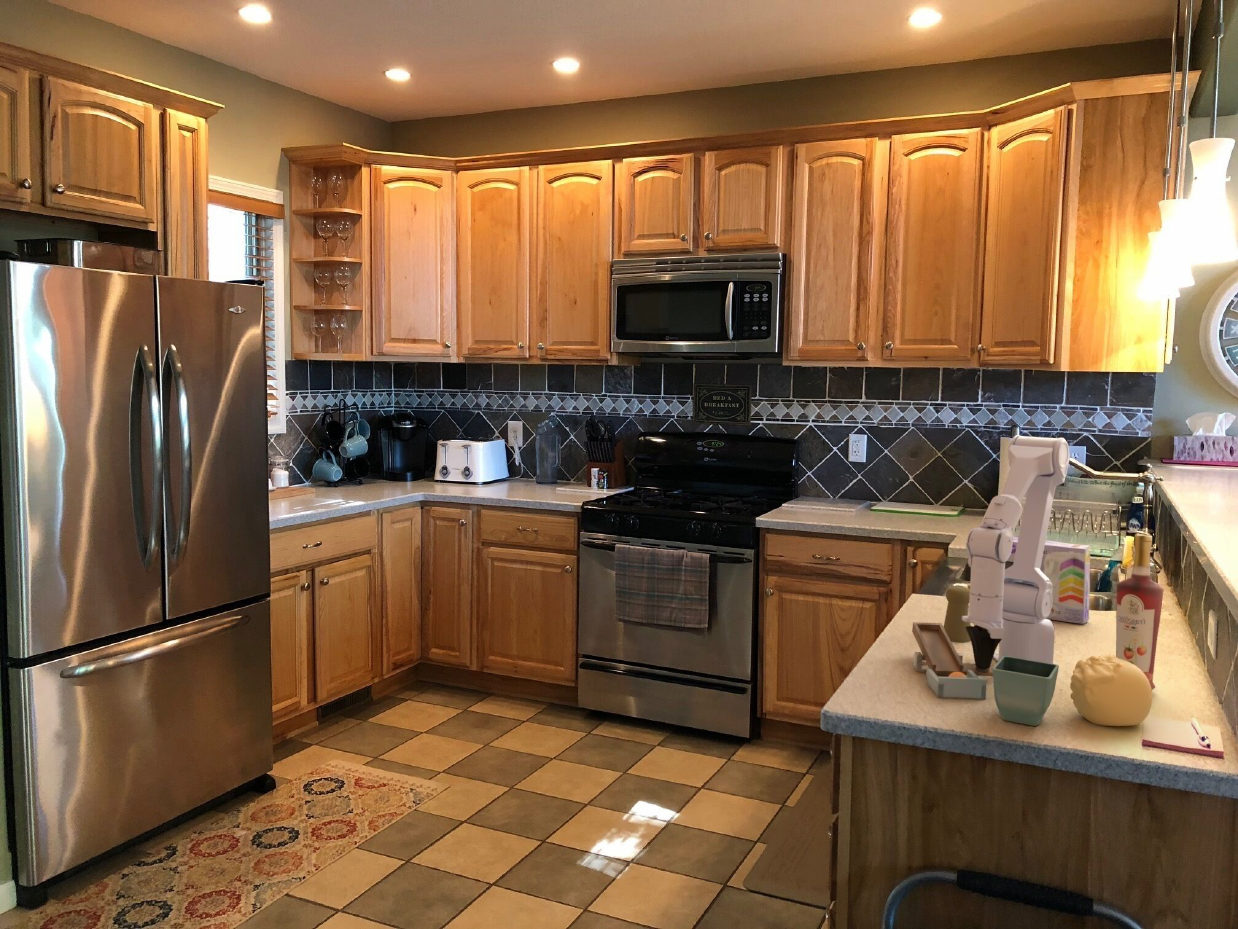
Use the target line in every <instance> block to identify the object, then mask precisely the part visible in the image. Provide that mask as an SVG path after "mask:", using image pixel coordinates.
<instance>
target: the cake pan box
mask: <svg viewBox="0 0 1238 929" xmlns="http://www.w3.org/2000/svg"><path fill="white" fill-rule="evenodd" d="M1017 542H1018V537H1015V536H1014V540H1013V545H1012V551H1011V555H1010V557H1009V558H1008V560H1007V561H1006V562H1005V569H1007V568H1009V567H1011V566H1012V565H1013V563H1014V558H1015V553H1016V547H1017ZM1040 570H1041V571H1042V572H1043V573H1044V574H1045V575H1046V576H1047V577H1048V578H1049V580H1050V581H1051V582H1052V584H1053V590H1052V608H1051V612H1050V614H1049V616H1048V617H1047V618H1046V619H1048V620H1050V621H1051V620H1052V621H1059V622H1065V623H1066V622H1067V623H1072V624H1073V623H1074V624H1081V625H1083V624H1086V623H1087V622H1089V620H1090V593H1091V592H1090V590H1091V576H1090V575H1091V545H1086V544H1077V543H1068V542H1066V543H1065V542H1061V541H1054V540H1046V541H1045V546H1044V551H1043V557H1042V562H1041V567H1040ZM1014 583H1018V584H1024V585H1030V586H1036V587H1039V586H1038V585H1033V584H1027V583H1020V582H1014Z"/></svg>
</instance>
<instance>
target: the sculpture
mask: <svg viewBox="0 0 1238 929" xmlns="http://www.w3.org/2000/svg"><path fill="white" fill-rule="evenodd" d="M1070 681H1071V682H1070V686H1069V688H1070V690H1071V691H1072V692H1071V693H1070V698H1071V700H1073V701H1072V703H1073V706H1074V707H1075V708H1076V711H1077V713H1078V714H1080V715H1082V716H1083V717H1084V718H1085V719H1086V720H1087V721H1088V722H1090V723H1092V724H1095V725H1097V726H1098V725H1099V726H1105V727H1106V726H1107V727H1108V726H1109V727H1128V726H1129V727H1131V726H1136V725H1137V726H1138V725H1140V724H1141V723H1143V722H1144V721H1145V720H1146V718H1147V717H1148V715H1149V714H1150V711H1151V709H1152V704H1153V690H1152V689H1151V686H1150V683H1149V681H1148V679H1147V677H1146V675H1145V674H1144V673H1143V672H1142V671H1141V670H1140V669H1139V668H1138V667H1137V666H1135V665H1134V664H1132V663H1130V662H1128V661H1125V660H1122V659H1119V658H1117V657H1116V655H1115V654H1111V653H1110V654H1102V655H1095V656H1094V655H1092V656H1090V657H1088V658H1085V659H1079V660H1078V661H1077V662H1076V664H1075V666H1074V669H1073V671H1072V674H1071V677H1070Z"/></svg>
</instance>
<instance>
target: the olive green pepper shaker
mask: <svg viewBox="0 0 1238 929" xmlns="http://www.w3.org/2000/svg"><path fill="white" fill-rule="evenodd" d="M945 598H946V600H947V605H946V606H947V607H946V612H945V617H944V623H943V627H944V629H945V631H946V633H947V635H948V637H949V638H950V640H951V642H953V643H954V642H955V643H969V642H971V640H970V637H969V635H968V632H967V630H966V627H967V626H972V623H970V622H964V621H963V620H962V616H968V608H969V600H970V588H968V587H965V586H961V585H960V586H958V585H957V586H950V587H948V588H947V589H946V591H945Z"/></svg>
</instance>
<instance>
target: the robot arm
mask: <svg viewBox="0 0 1238 929" xmlns="http://www.w3.org/2000/svg"><path fill="white" fill-rule="evenodd" d="M1069 446H1070V445H1069V443H1068V442H1067V441H1066V439H1065V438H1064V437H1057V438H1056V437H1055V438H1053V437H1041V436H1039V437H1038V436H1025V435H1024V436H1023V435H1019V434H1017V435H1014V436H1013V437H1012V439H1011V440H1010V442H1009V444H1008V448H1007V460H1008V466H1009V470H1008V473H1007V476H1006V479H1005V482H1004V485H1003V488H1002V490H1001V493H1000V494H999V495H995V496H994V497H992V499H991V500H990V502H989V505H988V507H987V509H986V511H985V514H984V515H983V518H982V520H981V521H980V524H979V526H977V527H975V528H972V529H971V530H970V531H969V533H968V534H967V539H966V544H965V548H966V549H965V550H966V554H967V557H968V558H967V559H968V560H967V561H968V562H967V564H968V567H969V568H970V584H969V589H970V600H969V608H968V616H962V620H963V621H964V622H970V624H973V626H972V625H971V626H967V627H966V630H967V632H968V635H969V637H970V640H971V641H970V644H971V647H972V648H971V649H972V653H973V659H974V664H975V665H976V666H977V667H978V668H987V669H989V668H990V666H992V662H993V659H994V660H995V661H997V662H998V661H999V660H1000V658H1001V657H1002V656H1010V657H1016V658H1022V659H1027V660H1033V661H1039V662H1045V663H1052V664H1054V654H1055V653H1054V652H1055V636H1056V635H1055V628H1054V625H1053V622H1052V621H1051V619H1046V618H1047V617H1048V616H1049V614H1050V612H1051V608H1052V590H1053V584H1052V582H1051V581H1050V580H1049V578H1048V577H1047V576H1046V575H1045V574H1044V573H1043V572H1042V571H1041V570H1040V567H1041V562H1042V557H1043V551H1044V546H1045V541H1047V535H1048V529H1049V523H1050V518H1051V513H1052V507H1053V502H1054V496H1055V492H1056V489H1057V487H1058V486H1060V485H1062V484H1064V483H1065V481H1066V477H1067V473H1068V469H1069V463H1070V457H1071V456H1070V447H1069ZM1025 495H1026V496H1025ZM1024 496H1025V502H1024V507H1023V505H1022V504H1021V502H1022V500H1023V499H1024ZM1020 519H1021V522H1020V527H1019V531H1018V532H1019V533H1018V537H1017V538H1018V542H1017V547H1016V553H1015V558H1014V563H1013V565H1012V566H1011V567H1009V568H1007V569H1005V562H1006V561H1007V560H1008V558H1009V557H1010V555H1011V551H1012V545H1013V540H1014V537H1015V535H1014V532H1015V529H1016V527H1017V525H1018V523H1019V520H1020ZM1014 582H1020V583H1027V584H1033V585H1038V586H1039V587H1036V586H1030V585H1024V584H1018V583H1014ZM997 648H998V653H996V650H997ZM997 662H996V663H997Z"/></svg>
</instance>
